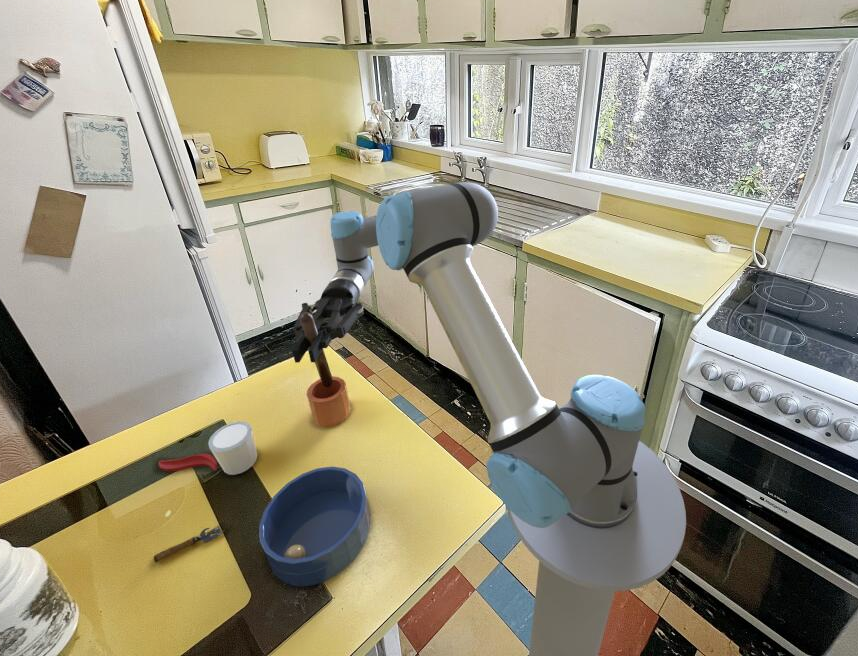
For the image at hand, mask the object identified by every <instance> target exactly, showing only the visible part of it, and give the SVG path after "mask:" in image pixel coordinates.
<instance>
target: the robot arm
mask: <svg viewBox="0 0 858 656" xmlns="http://www.w3.org/2000/svg"><path fill="white" fill-rule="evenodd" d="M498 219H499V207H498V204H497V202H496V199H495V198H494V196H493V194H492V193H491V192H490V191H489V190H488V189H487V188H486V187H484V186H483V185H480V184H478V183H474V182H469V181H459V182H453V183H450V184H444V185H439V186H433V187H428V188H422V189H418V190H411V191H408V190H405V191H403V192H402V193H398V194H394V195H390V196H387V197H385V198H384V199H383V200H382V201H381V202H380V204H379V205H378V208H377V211H376V215H372V216H368V217H363V215H362V214H361V213H360V212H359V211H354V210H353V211H352V210H349V211H340V212H337V213H335V214H333V215H332V216H331V218H330V220H329V221H330V222H329V223H330V232H331V233H330V235H331V238H332V243H333V247H334V253H335V254H334V255H335V260H336V266H337V271H336V272H335V274H334V275H333V277H332V278H331V279H330V280H329V282H328V283H327V285H326V287H325V288H324V289H323V291H322V293H321V296H320V298H319V299H318V300H316V301H314V302H315V303H313V304H308V303H307V302H303V303H301V310H300V313H299V315H298V317H297V319H296V321H295V323H294V325H293V327H292V328H293V331H294V335H295V340H294V344H295V346H294V347H293V349H292V350H291V352H292V356H293V359H294V363H301V361H302V360H303V358H304V356H305V355H306V353H307V351H308V355H309V360H310V363H315V362H316V360H317V358H318V357H319V355H320V353H321V351H322V349H323V350H324V349H328V347H329V346H330V345H331V342H332V340H334V339H335V338H338V339H343V338H344V337H345V336H346V335H347V334H348V332H349V331H350V329H351V328H352V327H353V325H354V324H355V323H356V321H357V320H358V319H359V318H360V317H361V316H363V315H364V313H365V312H364V306H363V302H358V301H359V299H360V297H361V295H362V293H363V291H364V289H365V287H366V286H367V283H369V280H370V279H371V277H372V275H373V271H374V261H373V260H372V259H371V257H370V256H369V254H368V249H370V248H374V247H378V249H379V253H380V255H381V257H382V260H383V262H384V263H385V265H386V266H388V268H389V269H391V270H392V271H401V270H402V269H403V271H404V273H405V275H406V277H407V279H408V281H409V282H410V283H412V284H416V285H418V286H421V287H422V288H423V290H424V292H425V294H426V296H427V299H428V300H429V302H430V304H431V306H432V309H433V311H434V312H435V314H436V316H437V318H438V320H439V322H440V324H441V326H442V328H443V331H444V333H445V334H446V337H447V339H448V341H449V343H450V344H451V346H452V349H453V351H454V353H455V355H456V357H457V358H458V360H459V363H460V365H461V366H462V369H463V371H464V373H465V375H466V377H467V379H468V381H469V383H470V385H471V387H472V389H473V391H474V393H475V395H476V397H477V399H478V401H479V403H480V406H481V407H482V409H483V411H484V413H485V416H486V418H487V420H488V422H489V423H490V429H489V432H488V436H487V438H486V440H487V442H488V444H489V447H490V449H491V451H492V454H490V456H489V457H488V459H487V460H486V462H485V463H486V464H485V465H486V466H485V467H486V469H485V470H486V471H487V474H486V475H487V477H488V480H489V483H490V485H491V487H492V488H493V490H494V492H495V493H496V495H497V497H498V498H499V499H500V500H501V502H502V503H503V504H504V505H505V507H506V508H507V507H508V508H509V510H510V511H511V512H512V513H514V514H515V515H516V516H517V517H518V518H519V519H521V520H522V521H524V522H525V523H527V524H529V525H531V526H533V527H538V528H545V527H548V526H550V525H552V524H553V523H554V522H556V521H557V520H558V519H559V518H560V517H562V516H563V515H566V514H567V515H568V516H569V517H570V518H572V519H573V520H575V521H577V522H578V523H580V524H583V525H585V526H588V527H592V528H600V529H604V528H611V527H615V526H618V525H620V524H621V523H623V522H624V521H626V520H627V519H628V518H629V516H630V515H631V513H632V512H633V509H634V506H635V502H636V498H637V487H636V482H635V477H634V476H637V475H638V474H637V472H635V471H633V468H632V466H633V462H634V459H635V455H636V451H637V447H638V443H639V441H640V439H641V435H642V430H643V428H644V426H645V414H646V407H645V404H644V402H643V399H642V397H641V396H640V394H639V393H638V392H637V391H636V390H635V389H634V388H633V387H632V386H630V385H629V384H628V383H626V382H624V381H622V380H620V379H618V378H615V377H613V376H608V375H607V376H606V375H602V374H589V375H584V376H582V377H580V378H578V379H577V380H576V381H574V383H573V384H572V389H570V395H569V396H570V399H569V401H568V402H567V403H565V404H564V405H562V406H561V407H560V408H559V406H558V405H557V403H556V402H555V401H554V400H550V399H547V398H544V396H542V395H541V393H540V392H539V390H538V388H537V386H536V384H535V382H534V381H533V378H532V377H531V375H530V373H529V371H528V369H527V367H526V365H525V364H524V361H523V360H522V358H521V356H520V354H519V352H518V351H517V349H516V346H515V345H514V342H512V339H511V337H510V335H509V333H508V331H507V329H506V327H505V326H504V324H503V322H502V320H501V319H500V316H499V314H498V313H497V310H496V309H495V307H494V305H493V303H492V301H491V299H490V297H489V296H488V293H487V292H486V290H485V288H484V286H483V285H482V283H481V280H480V279H479V277H478V274H477V273H476V271H475V269H474V267H473V266H472V263H471V259H472V256H473V253H474V246H477V245H479V244H481V243H482V242H484V241H485V240H487V239H488V238H489V237H490V236H492V233H493V232H494V230H495V228H496V226H497V223H498ZM314 311H315V313H314ZM305 312H308V313H310V314H312V316H313V319H314V322H315V325H316V329H317V330H319V328H320V327H321V326H322V325H323V324H324V323H326V322H327V321H328V322H327V325H324V329H320V330H319V332H318V336H317V337H316V339H315V340H314V342H313V344H312V345H311V347H309V345H308V342H307V339H306V336H305V333H304V330H303V327H302V324H301V322H300V316H301V314H303V313H305ZM313 313H314V314H313Z"/></svg>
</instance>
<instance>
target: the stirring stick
mask: <svg viewBox="0 0 858 656" xmlns="http://www.w3.org/2000/svg"><path fill="white" fill-rule="evenodd" d="M312 314H313V313H312ZM312 314H310V313H308V312H305V313H303V314H301V316H300V322H301V324H302V327H303V330H304V333H305V336H306V339H307V342H308V345H309V348H310V347H311V345H312V344H313V342H314V340H315V339H316V337H317V336H318V334H319V332H318V329H316V325H315V322H314V319H313V315H312ZM314 364H315V367H316V370H317V373H318V376H319V378H320V379H321V382H322V385H323V386H324V387H330V386H332V384H333V378H332V376H333V375H332V372H331V369H330V366H329V363H328V359H327V357H326V354H325V349H324V348H323V349H322V351H321V353H320V355H319V357H318V358H317V360H316V362H314Z"/></svg>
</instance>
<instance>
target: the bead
mask: <svg viewBox="0 0 858 656" xmlns="http://www.w3.org/2000/svg"><path fill="white" fill-rule="evenodd" d="M305 556H306V551H305V548H304V547H303V546H302V545H299V544H296V545H293V546H291V547H290V548H288V549H287V551H286V552H285V554H284V557H285V558H291V559H299V558H305Z"/></svg>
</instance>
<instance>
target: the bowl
mask: <svg viewBox="0 0 858 656" xmlns="http://www.w3.org/2000/svg"><path fill="white" fill-rule="evenodd" d="M258 527H259V529H258V530H259V531H258V533H259V534H258V535H259V538H258V539H259V543H260V545H261V548H262V550H263V553H264V555H265V557H266V559H267V562H268V564H269V566H270V569H271V570H272V572H273V574H274V576H276V578H278V579H279V580H281V581H282V582H283V583H284V584H287V585H291V586H293V587H311V586H316V585H319V584H322V583H324V582H327V581H329V580H331V579H333V578H334V577H336V576H337V575H339V574H341V573H342V572H343V571H344V570H346V569H347V568H348V567H349V566H350V565H351V564H352V563H353V562H354V560H356V558H357V557H358V555H359V554H360V553H361V551H362V549H364V546H365V544H366V542H367V540H368V536H369V533H370V530H371V512H370V506H369V502H368V497H367V492H366V488H365V485H364V482H363V481H362V480H361V478H360V477H359V476H358V475H357V473H355V472H353V471H351V470H349V469H347V468H345V467H338V466H325V467H324V466H323V467H318V468H314V469H311V470H309V471H306V472H304V473H301V474H299V475H297V476H296V477H295V478H293V479H291V480H290V481H288V482H287V483H286V484H285V485H283V486H282V487H281V488H280V489H279V491H278V492H276V493H275V494H274V495H273V497H272V499H271V500H270V501H269V502H268V504H267V505H266V507H265V508H264V511H263V513H262V516H261V519H260V521H259V526H258ZM296 544H299V545H302V546H303V547H304V548H305V551H306V556H305V558H299V559H291V558H285V557H284V554H285V552H286V551H287V549H288V548H290V547H291V546H293V545H296Z"/></svg>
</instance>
